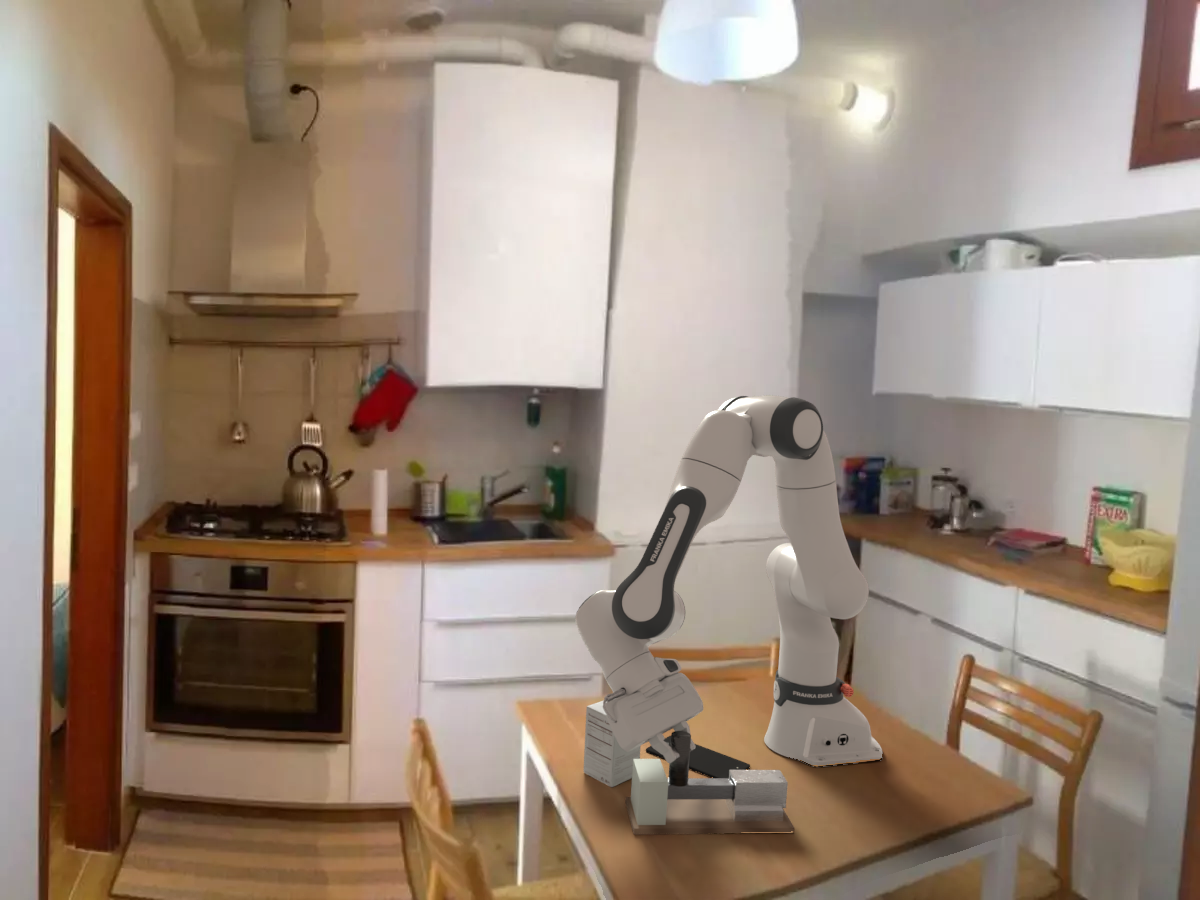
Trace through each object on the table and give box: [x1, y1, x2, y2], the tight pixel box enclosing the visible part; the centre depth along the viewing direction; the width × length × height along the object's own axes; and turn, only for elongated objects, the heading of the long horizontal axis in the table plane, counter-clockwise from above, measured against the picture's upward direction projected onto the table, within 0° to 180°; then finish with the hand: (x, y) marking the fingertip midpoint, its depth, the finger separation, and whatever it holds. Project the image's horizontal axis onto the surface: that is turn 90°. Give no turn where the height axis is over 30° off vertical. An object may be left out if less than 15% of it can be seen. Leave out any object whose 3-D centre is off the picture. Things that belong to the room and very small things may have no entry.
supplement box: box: [583, 699, 642, 788], centre depth 164 cm, size 7×7×13 cm
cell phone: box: [645, 735, 751, 778], centre depth 172 cm, size 9×18×1 cm, turn 51°
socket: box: [630, 758, 668, 825], centre depth 150 cm, size 4×8×7 cm, turn 6°
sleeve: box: [726, 769, 789, 821], centre depth 152 cm, size 9×6×6 cm
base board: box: [625, 796, 795, 835], centre depth 151 cm, size 26×10×1 cm, turn 96°
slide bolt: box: [667, 730, 735, 799], centre depth 150 cm, size 15×3×10 cm, turn 96°
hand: (682, 755), depth 149 cm, fingers open, 3 cm apart
